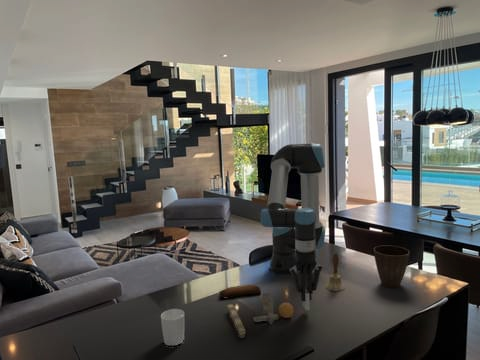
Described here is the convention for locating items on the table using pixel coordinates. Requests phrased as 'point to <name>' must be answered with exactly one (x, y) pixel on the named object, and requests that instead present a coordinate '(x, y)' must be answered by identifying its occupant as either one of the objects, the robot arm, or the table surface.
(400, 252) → the plant pot
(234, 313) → the grey long bar
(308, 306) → the robot arm
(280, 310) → the ball
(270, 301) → the pin
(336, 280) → the hand bell
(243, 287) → the sunglasses case
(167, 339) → the white cup
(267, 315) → the front pin
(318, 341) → the table surface
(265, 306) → the pin
